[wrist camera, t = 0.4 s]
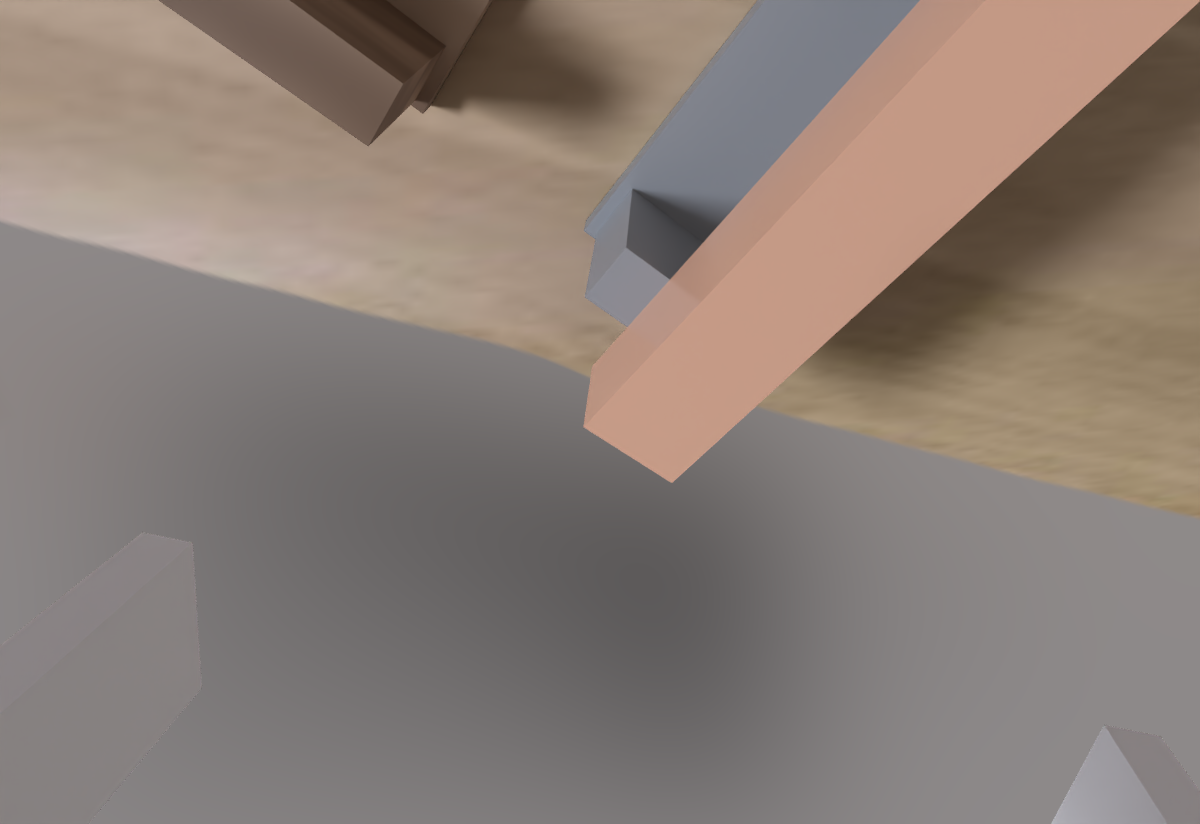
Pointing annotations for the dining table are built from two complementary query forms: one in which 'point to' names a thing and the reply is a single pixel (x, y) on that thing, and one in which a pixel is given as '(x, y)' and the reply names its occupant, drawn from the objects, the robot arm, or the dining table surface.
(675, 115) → the stand
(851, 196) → the salmon pink square bar
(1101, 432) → the dining table surface
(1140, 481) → the dining table surface
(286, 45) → the bronze cradle base
